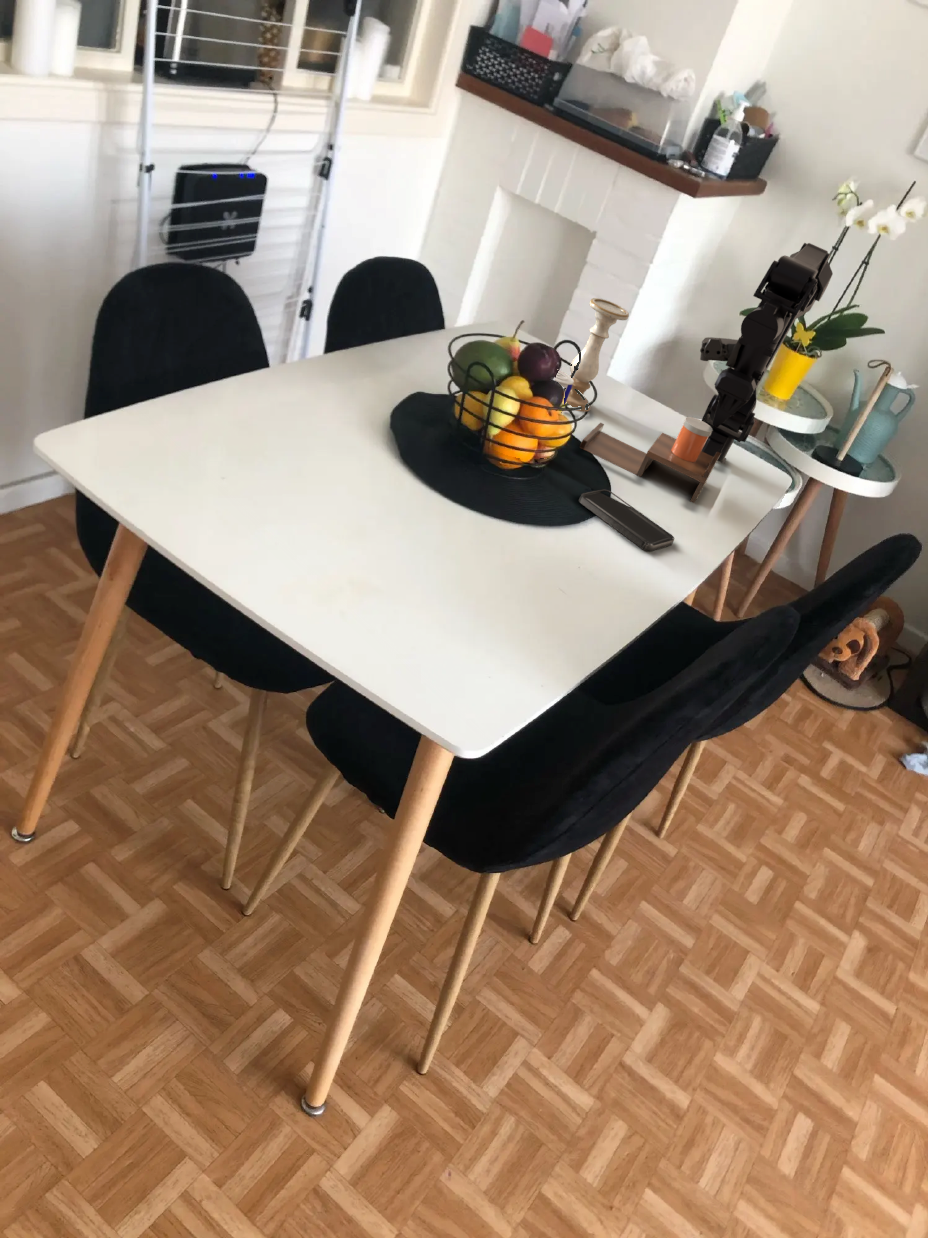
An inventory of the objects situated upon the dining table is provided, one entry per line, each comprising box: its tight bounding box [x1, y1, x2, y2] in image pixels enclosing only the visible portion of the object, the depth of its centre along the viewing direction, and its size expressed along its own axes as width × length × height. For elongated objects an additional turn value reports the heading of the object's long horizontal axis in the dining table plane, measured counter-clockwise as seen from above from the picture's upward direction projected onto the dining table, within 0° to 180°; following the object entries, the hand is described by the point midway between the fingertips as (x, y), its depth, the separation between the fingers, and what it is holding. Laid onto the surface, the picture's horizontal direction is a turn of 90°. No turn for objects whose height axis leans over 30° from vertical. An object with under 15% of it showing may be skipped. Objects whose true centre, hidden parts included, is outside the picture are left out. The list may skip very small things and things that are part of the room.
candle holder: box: [566, 297, 630, 413], centre depth 188 cm, size 9×9×20 cm
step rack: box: [579, 422, 721, 504], centre depth 177 cm, size 12×22×7 cm, turn 66°
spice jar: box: [671, 416, 713, 462], centre depth 174 cm, size 5×5×6 cm
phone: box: [578, 488, 675, 552], centre depth 158 cm, size 8×1×15 cm
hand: (719, 419), depth 176 cm, fingers open, 9 cm apart
